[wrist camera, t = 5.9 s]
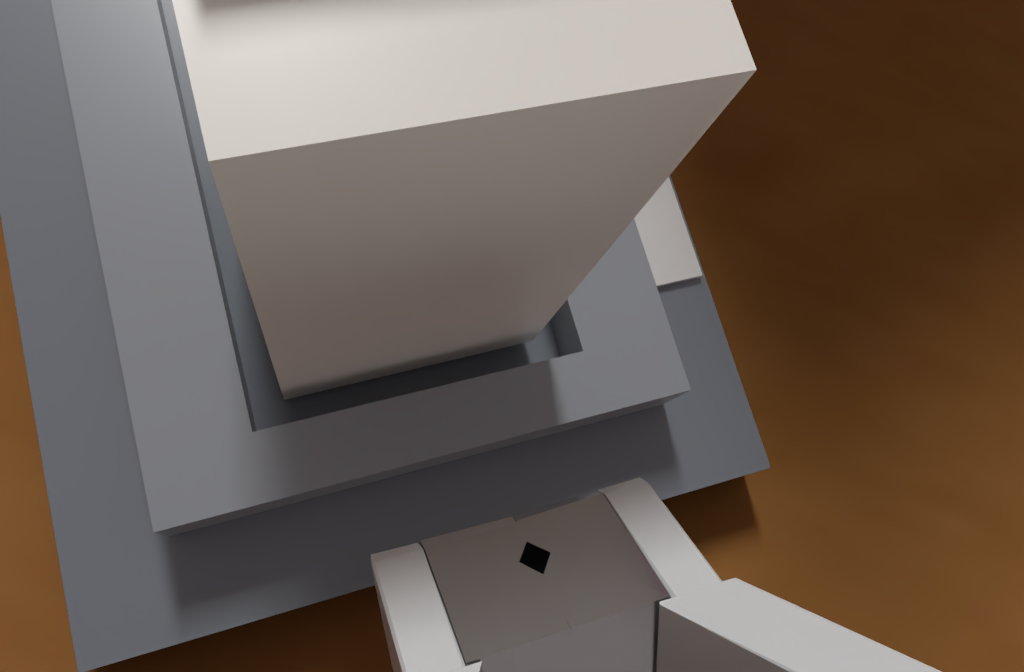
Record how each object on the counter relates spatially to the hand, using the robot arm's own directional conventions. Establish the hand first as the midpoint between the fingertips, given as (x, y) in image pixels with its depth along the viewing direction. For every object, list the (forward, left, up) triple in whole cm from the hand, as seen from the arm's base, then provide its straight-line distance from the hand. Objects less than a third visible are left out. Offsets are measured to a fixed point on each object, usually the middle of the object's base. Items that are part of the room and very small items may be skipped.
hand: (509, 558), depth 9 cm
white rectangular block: (+3, +4, -4) cm, 6 cm away
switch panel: (+6, +8, -5) cm, 11 cm away
